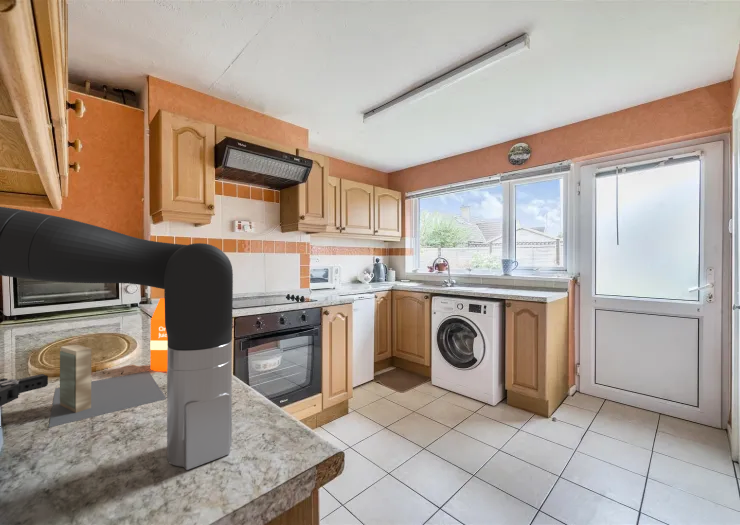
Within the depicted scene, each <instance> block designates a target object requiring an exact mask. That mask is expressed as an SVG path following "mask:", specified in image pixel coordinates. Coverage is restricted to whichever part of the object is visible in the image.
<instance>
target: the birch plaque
mask: <svg viewBox="0 0 740 525" xmlns="http://www.w3.org/2000/svg"><path fill="white" fill-rule="evenodd" d="M91 381H92V348H91V347H87V346H83V345H80V344H70V345H63V346H60V351H59V387H60V405H61V406H63V407H65V408H67V409H69V410H71V411H73V412H75V413H77V412H80V411H83V410H86V409H89V408H91Z"/></svg>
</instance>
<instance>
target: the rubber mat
mask: <svg viewBox="0 0 740 525" xmlns="http://www.w3.org/2000/svg"><path fill="white" fill-rule="evenodd" d="M52 400H53V401H52V405H51V406H52V407H51V411H50V418H49V424H48V428H53V427H58V426H61V425H65V424H69V423H73V422H78V421H82V420H86V419H90V418H96V417H99V416H102V415H106V414H112V413H115V412H119V411H123V410H127V409H128V410H129V409H131V408H135V407H140V406H144V405H147V404H152V403H155V402H159V401H164V400H167V396H166V395H165V394H164V393H163V391H162V389H161V388H160V386H159V385H158V384H157V382H156V380H155V378H154V377H153V376H152V374H151V373H150V371H149V370H147V371H139V372H136V373H135V372H134V373H129V374H125V375H124V374H123V375H119V376H115V377H114V376H113V377H108V378H104V379H103V378H102V379H97V380H93V381H92V380H91V408H89V409H86V410H83V411H80V412H77V413H75V412H73V411H71V410H69V409H67V408H65V407H63V406H61V405H60V386H58V387H55V390H54V395H53V399H52Z"/></svg>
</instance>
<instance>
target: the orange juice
mask: <svg viewBox="0 0 740 525" xmlns="http://www.w3.org/2000/svg"><path fill="white" fill-rule="evenodd" d="M151 316H152V317H151V318H150V341H149V342H150V345H149V346H150V347H149V348H150V370H151V371H154V372H167V347H168V346H167V332H166V328H165V299H164V297H159V300H158V302H157V305H156V307H155V310H154V312H153V314H152V315H151Z"/></svg>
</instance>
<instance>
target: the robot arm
mask: <svg viewBox="0 0 740 525" xmlns="http://www.w3.org/2000/svg"><path fill="white" fill-rule="evenodd" d="M233 275H234V274H233V265H232V263H231V260H230V259H229V257H228V256H227V254H226V253H225V252H224V251H223V250H221V249H220V248H218V247H217V246H214V245H212V244H208V243H202V242H198V243H197V242H196V243H190V244H182V243H180V244H179V243H172V242H171V243H170V242H162V241H155V240H154V241H153V240H147V239H143V238H139V237H135V236H130V235H127V234H125V233H121V232H118V231H114V230H111V229H107V228H105V227H101V226H98V225H94V224H90V223H86V222H83V221H78V220H75V219H69V218H67V217H61V216H57V215H52V214H46V213H41V212H36V211H35V212H34V211H29V210H24V209H18V208H12V207H5V206H0V276H1V277H10V278H16V279H17V278H18V279H26V280H35V281H43V282H53V283H55V282H56V283H68V284H69V283H71V284H129V285H130V284H131V285H138V286H144V287H145V286H146V287H150V288H157V289H160V290H161V289H162V290H164V292H163V294H164V297H163V298H164V299H165V328H166V332H167V346H168V347H167V371H166V378H167V379H166V385H167V386H166V459H167V462H168V463H169V464H171V465H172V466H176V467H182V468H184V469H185V470H186V471H188V470H189V471H190V470H191V469H194V468H196V467H199V466H201V465H205V464H206V463H209V462H212V461H215V460H217V459H220V458H222V457H225V456H227V455H230V453H231V447H232V440H233V438H232V437H233V436H232V435H233V434H232V432H233V431H232V430H233V429H232V428H233V425H232V424H233V421H232V420H233V418H232V417H233V416H232V414H233V413H232V410H233V408H232V406H233V405H232V404H233V399H232V397H233V394H232V391H233V390H232V389H233V386H232V384H233V382H232V381H233V379H232V377H233V376H232V375H233V374H232V373H233V371H232V370H233V366H232V365H233V364H232V363H233V362H232V361H233V321H234V320H233V317H234V316H233V308H234V307H233V302H234V301H233V300H234V298H233V295H234V294H233V293H234V292H233V290H234V280H233V278H234V277H233ZM48 385H49V377H48V375H47V374H46V375H45V374H43V373H42V374H36V375H32V376H27V377H22V378H18V379H16V378H10V379H8V378H6V377H5V378H0V407H2V406H4V405H6V404H8V403H10V402H13V401H15V400H17V399H19V395H20V394H22V393H26V392H30V391H34V390H38V389H42V388H45V387H47V386H48Z"/></svg>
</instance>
